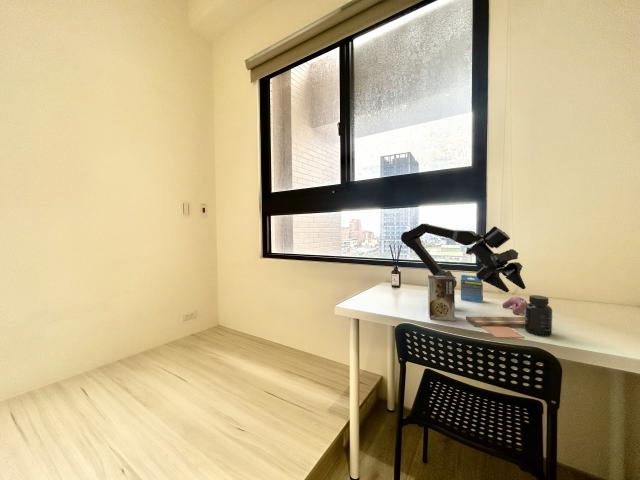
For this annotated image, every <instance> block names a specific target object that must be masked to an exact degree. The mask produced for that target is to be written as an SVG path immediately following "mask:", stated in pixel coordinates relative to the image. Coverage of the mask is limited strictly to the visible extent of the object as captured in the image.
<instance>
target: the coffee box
mask: <svg viewBox="0 0 640 480" xmlns="http://www.w3.org/2000/svg"><path fill="white" fill-rule="evenodd" d="M455 295H456V294H455V288H454V278H453V277H452V276H433V275H427V299H428V300H427V301H428V302H427V305H428V308H427V309H428V318H430V319H429V320H438V321H439V320H440V321H453V322H455V321H456V309H455V307H456V306H455V305H456V304H455V303H456V301H455V298H456V297H455Z"/></svg>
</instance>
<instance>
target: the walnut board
mask: <svg viewBox="0 0 640 480" xmlns="http://www.w3.org/2000/svg"><path fill="white" fill-rule="evenodd" d="M465 321H467V322H468V323H469V324H471V325H472V326H474V327H476V328H479V327H480V328H481V327H482V326H505V327H509V328H525V316H475V315H474V316H472V315H471V316H470V315H469V316H467V315H466V316H465Z"/></svg>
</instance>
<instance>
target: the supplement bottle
mask: <svg viewBox="0 0 640 480" xmlns="http://www.w3.org/2000/svg"><path fill="white" fill-rule="evenodd" d="M528 297H529V299H528V302H527V303H528V304H527V305H526V306H525V311H524V312H525V313H524V317H525V327H524V330H525V331H526V332H527V333H529V334H531V335H534V336H538V337H550V336H551V335H552V334H553V308H552V307H551V306H550V305H549V304H550V302H549V298H548V297H547V296H543V295H536V294H533V295H529V296H528Z"/></svg>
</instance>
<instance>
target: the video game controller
mask: <svg viewBox="0 0 640 480" xmlns="http://www.w3.org/2000/svg"><path fill="white" fill-rule="evenodd" d="M528 303H529V302H527V301H526V300H525V298H523V297H519V296H512V297H510V298H509V299H508V300H506V301H504V302H503V303H502V305H501V306H502V308H504V309H507V308H510V307H511V309H512V314H513V315H520V314H522V313H523V312H525V306H526V305H527V304H528Z"/></svg>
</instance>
